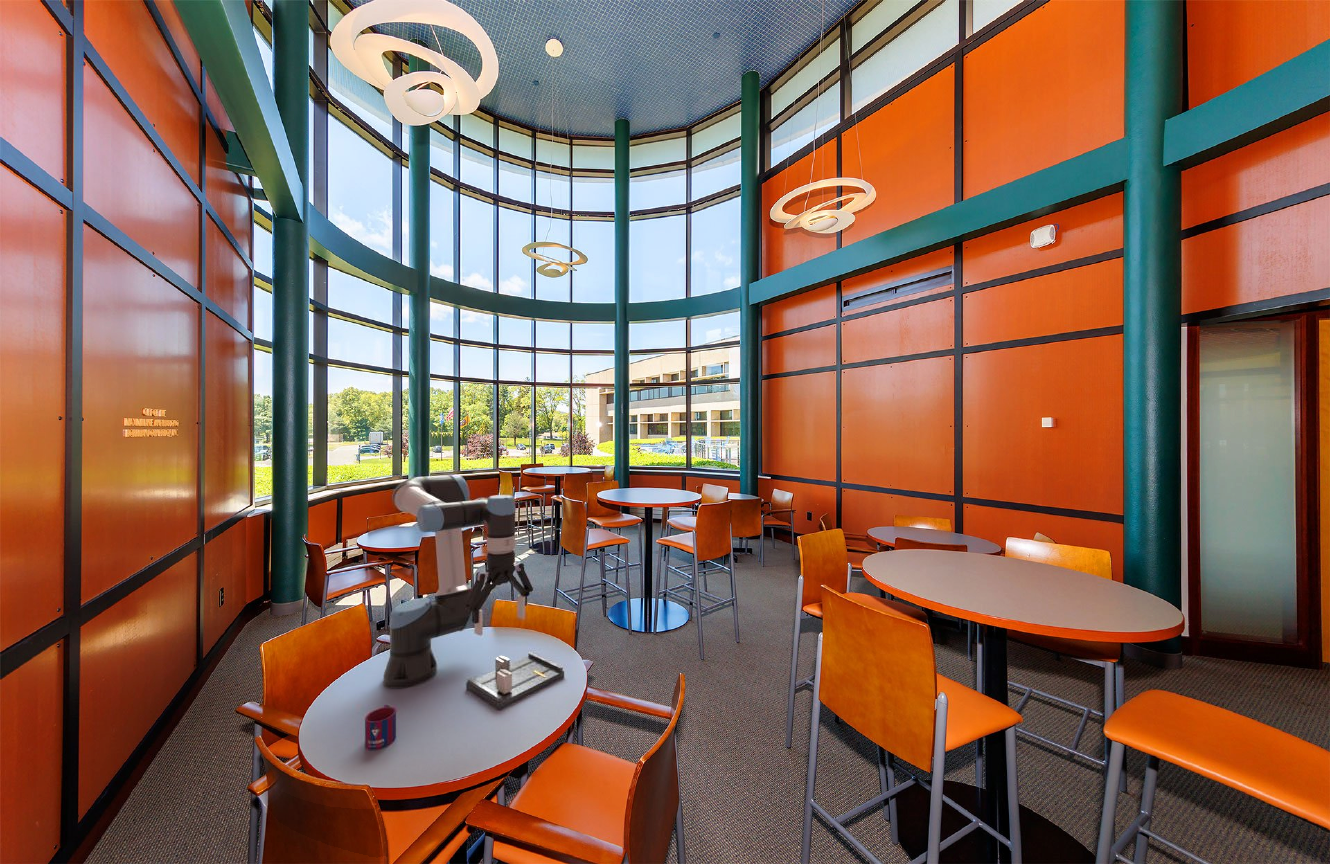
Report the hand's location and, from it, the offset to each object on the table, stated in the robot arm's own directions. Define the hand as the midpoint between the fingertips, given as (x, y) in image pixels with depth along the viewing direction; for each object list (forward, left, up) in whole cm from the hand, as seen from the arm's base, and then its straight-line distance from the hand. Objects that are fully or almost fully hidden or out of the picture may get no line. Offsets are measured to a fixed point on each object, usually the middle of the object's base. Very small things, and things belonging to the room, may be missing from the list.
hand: (500, 625), depth 131 cm
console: (-9, +11, -24) cm, 27 cm away
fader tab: (-5, +4, -21) cm, 22 cm away
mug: (-13, -25, -24) cm, 37 cm away
